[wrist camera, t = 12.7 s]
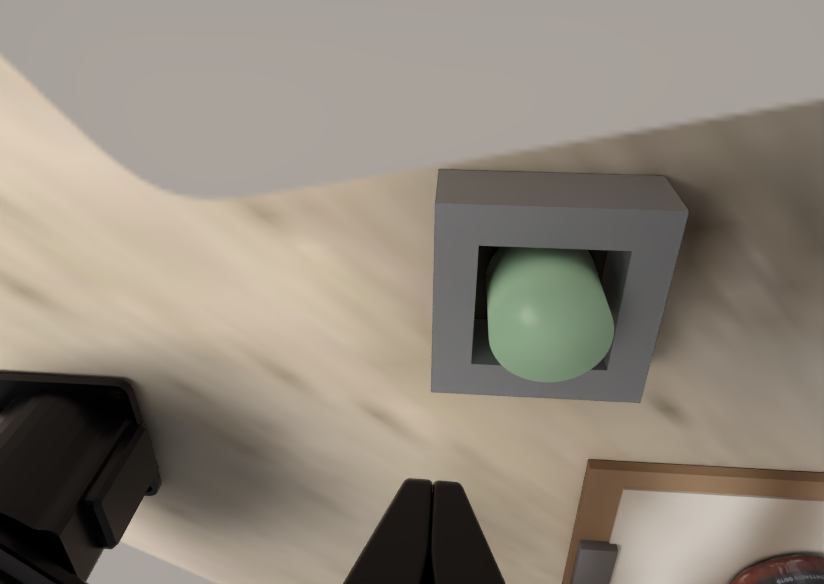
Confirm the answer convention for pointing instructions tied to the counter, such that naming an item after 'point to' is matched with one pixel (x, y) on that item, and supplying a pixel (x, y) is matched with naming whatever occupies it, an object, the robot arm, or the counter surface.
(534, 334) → the button
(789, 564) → the supplement bottle
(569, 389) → the button housing
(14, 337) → the counter surface
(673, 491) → the clipboard
